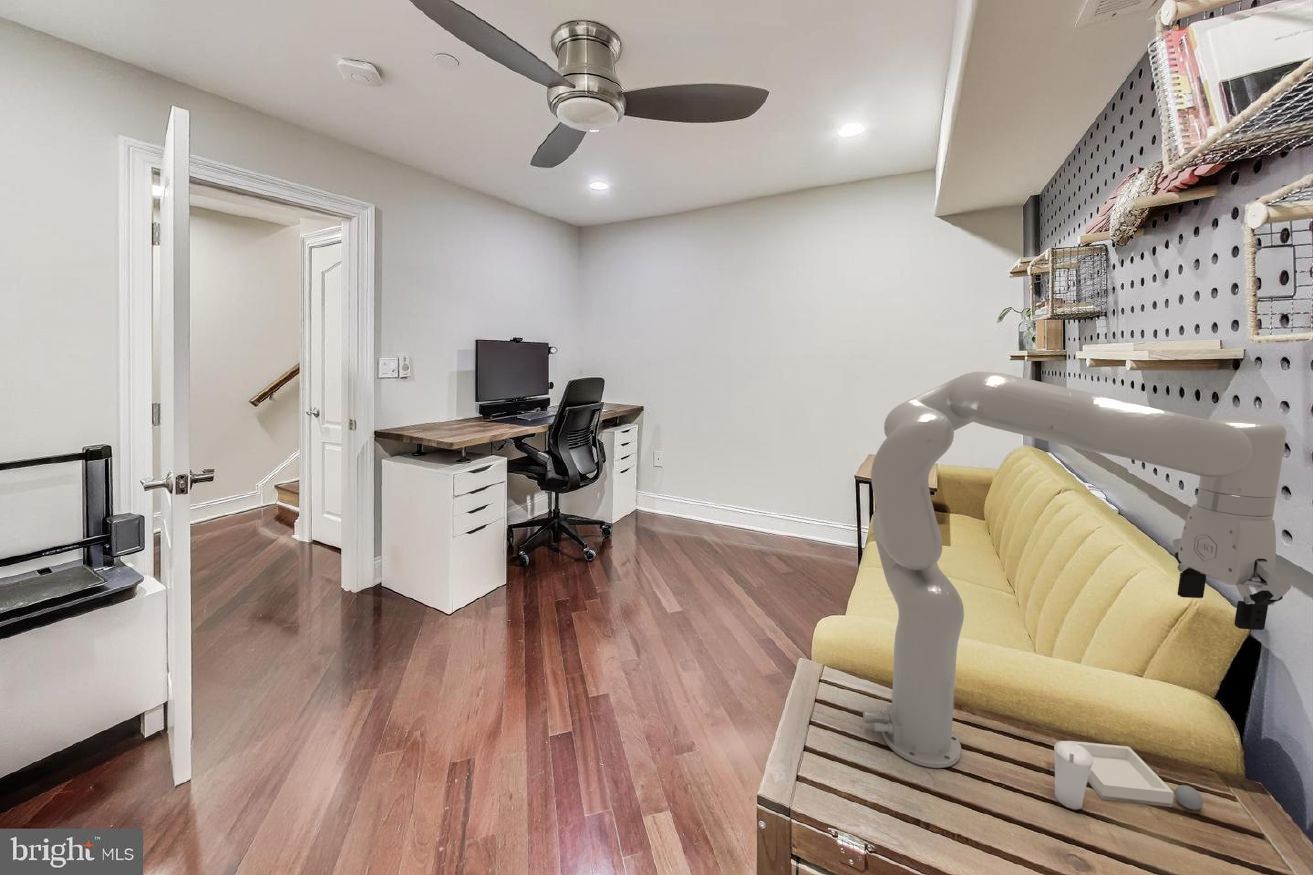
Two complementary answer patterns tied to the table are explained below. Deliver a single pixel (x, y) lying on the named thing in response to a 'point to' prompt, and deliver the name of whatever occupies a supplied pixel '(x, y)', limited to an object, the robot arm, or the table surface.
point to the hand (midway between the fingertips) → (1217, 611)
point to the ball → (1188, 797)
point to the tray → (1125, 776)
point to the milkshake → (1071, 773)
